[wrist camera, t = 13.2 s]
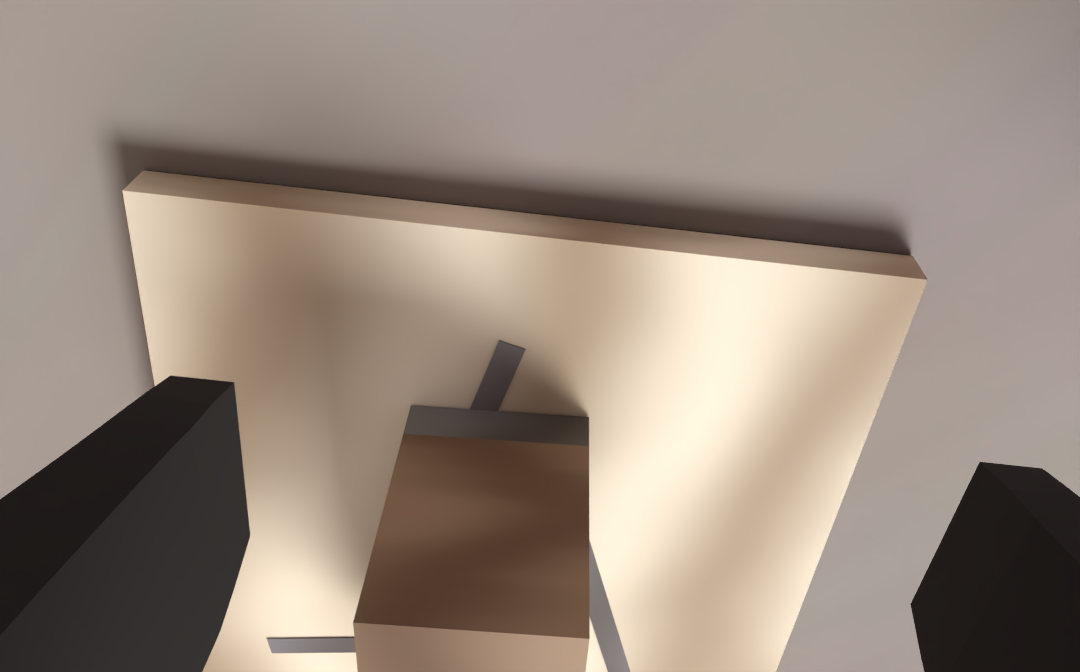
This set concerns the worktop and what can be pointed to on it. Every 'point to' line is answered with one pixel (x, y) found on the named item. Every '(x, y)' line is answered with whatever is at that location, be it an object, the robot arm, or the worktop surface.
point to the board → (523, 397)
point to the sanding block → (481, 547)
